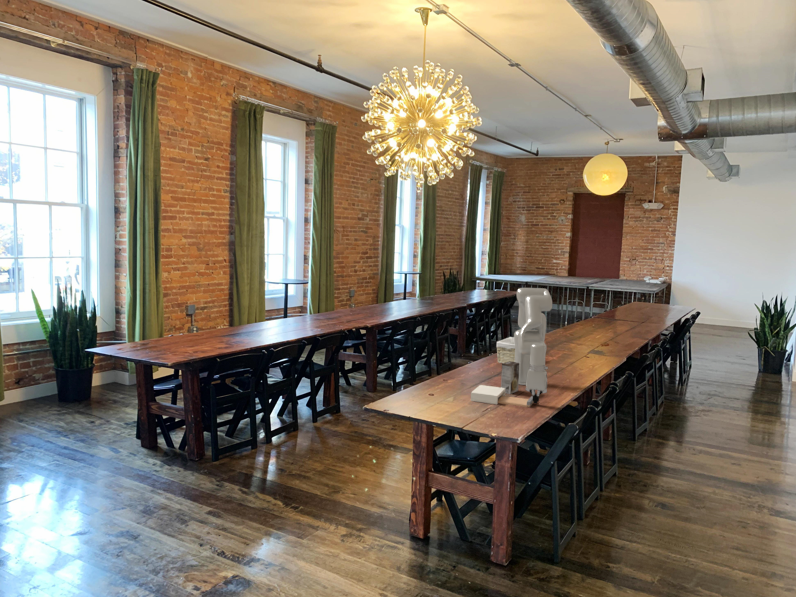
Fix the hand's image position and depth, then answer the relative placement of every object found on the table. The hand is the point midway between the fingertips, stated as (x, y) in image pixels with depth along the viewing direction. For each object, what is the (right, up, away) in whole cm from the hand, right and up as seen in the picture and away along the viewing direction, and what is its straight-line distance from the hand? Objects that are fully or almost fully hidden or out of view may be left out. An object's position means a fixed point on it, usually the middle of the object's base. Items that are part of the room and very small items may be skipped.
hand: (535, 402), depth 299 cm
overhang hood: (-23, 0, +10) cm, 25 cm away
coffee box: (-9, +2, +25) cm, 26 cm away
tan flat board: (-9, -1, +4) cm, 10 cm away
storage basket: (+8, +10, +102) cm, 102 cm away
